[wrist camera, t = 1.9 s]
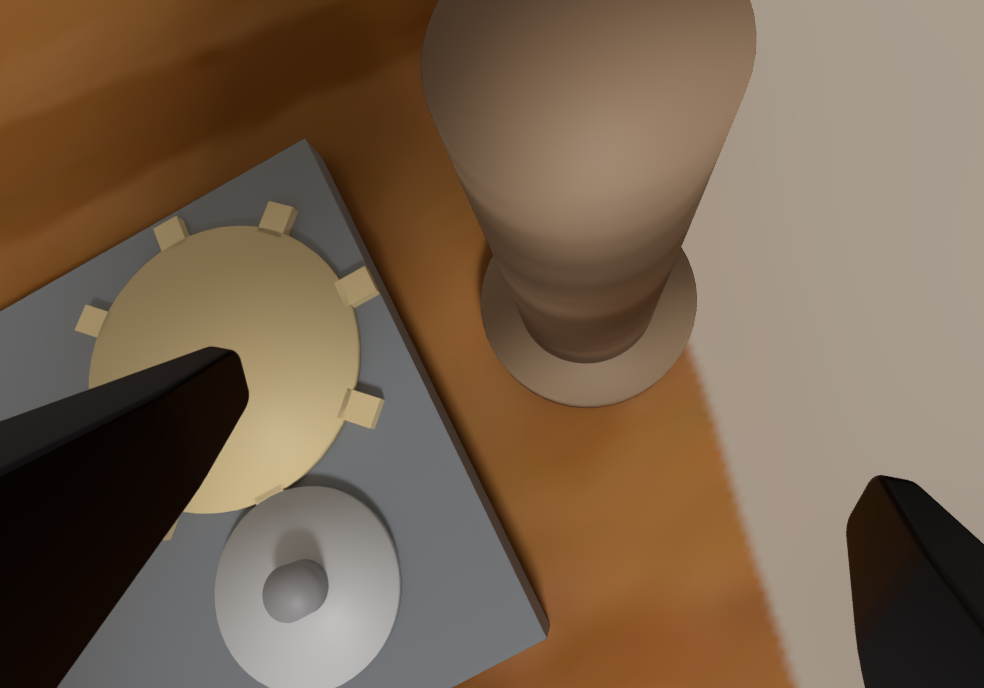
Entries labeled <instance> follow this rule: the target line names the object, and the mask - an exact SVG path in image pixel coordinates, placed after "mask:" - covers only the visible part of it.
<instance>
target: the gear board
mask: <svg viewBox="0 0 984 688" xmlns="http://www.w3.org/2000/svg"><path fill="white" fill-rule="evenodd" d="M209 346H215V347H221V348H226V349H231V350H234V351H235V352H237V354H238V355H239V356H240V359H241V362H242V366H243V370H244V373H245V377H246V381H247V385H248V389H249V401H248V404H247V407H246V409H245V410H244V412H243V414H242V416H241V417H240V419H239V421H238V423H237V424H236V426H235V428H234V430H233V431H232V433H231V435H230V437H229V438H228V440H227V442H226V444H225V445H224V447H223V449H222V451H221V452H220V454H219V456H218V458H217V459H216V461H215V463H214V465H213V466H212V468H211V470H210V472H209V473H208V475H207V477H206V478H205V480H204V481H203V483H202V485H201V486H200V488H199V489H198V491H197V492H196V494H195V495H194V497H193V498H192V500H191V501H190V503H189V504H188V505H187V507H186V508H185V510H184V511H183V512H182V514H181V515H180V517H179V518H178V519H177V521H176V522H175V524H174V525H173V526H172V528H171V529H170V531H169V532H168V533H167V535H166V536H165V538H164V539H163V540H162V542H161V543H160V545H159V546H158V547H157V549H156V550H155V552H154V553H153V554H152V556H151V557H150V559H149V560H148V561H147V563H146V564H145V566H144V567H143V568H142V570H141V571H140V573H139V574H138V575H137V577H136V578H135V580H134V581H133V582H132V584H131V585H130V587H129V588H128V589H127V591H126V592H125V594H124V595H123V596H122V598H121V599H120V601H119V602H118V603H117V605H116V606H115V608H114V609H113V610H112V612H111V613H110V615H109V616H108V617H107V619H106V620H105V622H104V623H103V624H102V626H101V627H100V628H99V630H98V631H97V633H96V634H95V635H94V637H93V638H92V640H91V641H90V642H89V644H88V645H87V647H86V648H85V649H84V651H83V652H82V654H81V655H80V656H79V658H78V659H77V661H76V662H75V663H74V665H73V666H72V668H71V669H70V670H69V672H68V673H67V675H66V676H65V677H64V679H63V680H62V682H61V683H60V684H59V686H58V687H57V688H452V687H454V686H456V685H458V684H460V683H462V682H464V681H465V680H467V679H469V678H471V677H473V676H475V675H477V674H479V673H481V672H483V671H485V670H487V669H489V668H491V667H493V666H495V665H496V664H498V663H500V662H502V661H504V660H506V659H508V658H510V657H512V656H514V655H516V654H518V653H520V652H522V651H524V650H526V649H527V648H529V647H531V646H533V645H535V644H537V643H539V642H541V641H543V640H545V639H547V636H548V632H549V628H550V624H549V622H548V620H547V618H546V616H545V614H544V612H543V609H542V607H541V605H540V603H539V601H538V599H537V597H536V595H535V593H534V591H533V589H532V587H531V585H530V583H529V581H528V579H527V577H526V575H525V573H524V570H523V568H522V566H521V564H520V562H519V560H518V558H517V556H516V554H515V552H514V550H513V548H512V546H511V544H510V542H509V540H508V538H507V536H506V534H505V531H504V529H503V527H502V525H501V523H500V521H499V519H498V517H497V515H496V513H495V511H494V509H493V507H492V505H491V503H490V501H489V499H488V497H487V495H486V492H485V490H484V488H483V486H482V484H481V482H480V480H479V478H478V476H477V474H476V472H475V470H474V468H473V466H472V464H471V462H470V460H469V458H468V456H467V453H466V451H465V449H464V447H463V445H462V443H461V441H460V439H459V437H458V435H457V433H456V431H455V429H454V427H453V425H452V423H451V421H450V419H449V417H448V414H447V412H446V410H445V408H444V406H443V404H442V402H441V400H440V398H439V396H438V394H437V392H436V390H435V388H434V386H433V384H432V382H431V380H430V378H429V375H428V373H427V371H426V369H425V367H424V365H423V363H422V361H421V359H420V357H419V355H418V353H417V351H416V349H415V347H414V345H413V343H412V341H411V339H410V336H409V334H408V332H407V330H406V328H405V326H404V324H403V322H402V320H401V318H400V316H399V314H398V312H397V310H396V308H395V306H394V304H393V302H392V300H391V297H390V295H389V293H388V291H387V289H386V287H385V285H384V283H383V281H382V279H381V277H380V275H379V273H378V271H377V269H376V267H375V265H374V263H373V261H372V258H371V256H370V254H369V252H368V250H367V248H366V246H365V244H364V242H363V240H362V238H361V236H360V234H359V232H358V230H357V228H356V226H355V224H354V222H353V219H352V217H351V215H350V213H349V211H348V209H347V207H346V205H345V203H344V201H343V199H342V197H341V195H340V193H339V191H338V189H337V187H336V185H335V183H334V180H333V178H332V176H331V174H330V172H329V170H328V168H327V166H326V164H325V162H324V160H323V158H322V157H321V156H320V155H319V154H318V152H317V151H316V150H315V149H314V148H313V147H312V145H311V144H310V143H309V142H308V141H307V140H306V138H304V139H303V140H301V141H299V142H297V143H296V144H294V145H292V146H290V147H288V148H287V149H285V150H283V151H281V152H280V153H278V154H276V155H274V156H273V157H271V158H269V159H267V160H266V161H264V162H262V163H260V164H259V165H257V166H255V167H253V168H252V169H250V170H248V171H246V172H245V173H243V174H241V175H239V176H238V177H236V178H234V179H232V180H231V181H229V182H227V183H225V184H223V185H222V186H220V187H218V188H216V189H215V190H213V191H211V192H209V193H208V194H206V195H204V196H202V197H201V198H199V199H197V200H195V201H194V202H192V203H190V204H188V205H187V206H185V207H183V208H181V209H180V210H178V211H176V212H174V213H173V214H171V215H169V216H167V217H165V218H164V219H162V220H160V221H158V222H157V223H155V224H153V225H151V226H150V227H148V228H146V229H144V230H143V231H141V232H139V233H137V234H136V235H134V236H132V237H130V238H129V239H127V240H125V241H123V242H122V243H120V244H118V245H116V246H115V247H113V248H111V249H109V250H107V251H106V252H104V253H102V254H100V255H99V256H97V257H95V258H93V259H92V260H90V261H88V262H86V263H85V264H83V265H81V266H79V267H78V268H76V269H74V270H72V271H71V272H69V273H67V274H65V275H64V276H62V277H60V278H58V279H57V280H55V281H53V282H51V283H49V284H48V285H46V286H44V287H42V288H41V289H39V290H37V291H35V292H34V293H32V294H30V295H28V296H27V297H25V298H23V299H21V300H20V301H18V302H16V303H14V304H13V305H11V306H9V307H7V308H6V309H4V310H2V311H0V421H2V420H5V419H8V418H10V417H13V416H16V415H19V414H22V413H24V412H27V411H30V410H33V409H35V408H38V407H41V406H44V405H47V404H49V403H52V402H55V401H58V400H61V399H63V398H66V397H69V396H72V395H74V394H77V393H80V392H83V391H86V390H88V389H91V388H94V387H97V386H100V385H102V384H105V383H108V382H111V381H113V380H116V379H119V378H122V377H125V376H127V375H130V374H133V373H136V372H139V371H141V370H144V369H147V368H150V367H152V366H155V365H158V364H161V363H164V362H166V361H169V360H172V359H175V358H178V357H180V356H183V355H186V354H189V353H191V352H194V351H197V350H200V349H203V348H205V347H209Z"/></svg>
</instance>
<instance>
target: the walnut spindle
mask: <svg viewBox="0 0 984 688" xmlns="http://www.w3.org/2000/svg"><path fill="white" fill-rule="evenodd" d="M755 54H756V26H755V19H754V12H753V9H752V6H751V2H750V0H439V1H438V3H437V4H436V7H435V9H434V11H433V13H432V16H431V18H430V20H429V23H428V27H427V30H426V33H425V37H424V42H423V48H422V54H421V78H422V86H423V93H424V96H425V100H426V103H427V106H428V110H429V112H430V114H431V117H432V119H433V121H434V123H435V126H436V128H437V130H438V132H439V135H440V137H441V139H442V141H443V144H444V146H445V148H446V150H447V152H448V155H449V157H450V159H451V161H452V164H453V166H454V168H455V170H456V173H457V175H458V177H459V179H460V182H461V184H462V186H463V188H464V191H465V193H466V195H467V197H468V200H469V202H470V204H471V206H472V209H473V211H474V213H475V215H476V218H477V220H478V222H479V224H480V226H481V229H482V231H483V233H484V235H485V238H486V240H487V242H488V244H489V247H490V249H491V251H492V253H493V256H492V258H491V260H490V263H489V265H488V268H487V270H486V273H485V277H484V281H483V284H482V292H481V314H482V320H483V325H484V329H485V332H486V336H487V338H488V340H489V343H490V345H491V347H492V349H493V351H494V352H495V354H496V356H497V357H498V359H499V360H500V362H501V363H502V364H503V365H504V366H505V368H506V369H507V370H508V371H509V373H510V374H511V375H512V376H513V377H514V378H515V379H516V380H517V381H518V382H519V383H520V384H521V385H523V386H524V387H526V388H527V389H528V390H530V391H531V392H533V393H534V394H536V395H538V396H540V397H542V398H544V399H546V400H549V401H552V402H554V403H557V404H561V405H566V406H570V407H580V408H598V407H604V406H610V405H614V404H618V403H621V402H624V401H627V400H629V399H631V398H633V397H636V396H638V395H639V394H641V393H643V392H644V391H646V390H647V389H649V388H650V387H652V386H653V385H654V384H655V383H656V382H658V381H659V380H660V379H661V378H662V377H663V376H664V375H665V374H666V373H667V371H668V370H669V369H670V368H671V367H672V365H673V364H674V363H675V362H676V360H677V359H678V357H679V356H680V354H681V353H682V352H683V350H684V348H685V346H686V344H687V342H688V340H689V337H690V335H691V332H692V329H693V326H694V321H695V315H696V307H697V293H696V283H695V279H694V275H693V271H692V268H691V266H690V263H689V261H688V258H687V256H686V255H685V253H684V251H683V249H682V248H681V246H682V244H683V241H684V239H685V236H686V234H687V231H688V229H689V227H690V224H691V222H692V219H693V217H694V215H695V212H696V210H697V207H698V205H699V203H700V200H701V198H702V195H703V193H704V190H705V188H706V186H707V183H708V181H709V178H710V176H711V174H712V171H713V169H714V166H715V164H716V161H717V159H718V157H719V154H720V152H721V149H722V147H723V144H724V142H725V140H726V137H727V135H728V133H729V130H730V128H731V125H732V123H733V121H734V118H735V116H736V113H737V111H738V108H739V106H740V104H741V101H742V99H743V96H744V94H745V91H746V88H747V86H748V83H749V80H750V77H751V74H752V70H753V65H754V60H755Z"/></svg>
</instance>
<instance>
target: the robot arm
mask: <svg viewBox="0 0 984 688" xmlns="http://www.w3.org/2000/svg"><path fill="white" fill-rule="evenodd" d="M248 401H249V389H248V385H247V381H246V377H245V373H244V370H243V366H242V362H241V359H240V356H239V355H238V354H237V352H235V351H234V350H231V349H226V348H221V347H215V346H209V347H205V348H203V349H200V350H197V351H194V352H191V353H189V354H186V355H183V356H180V357H178V358H175V359H172V360H169V361H166V362H164V363H161V364H158V365H155V366H152V367H150V368H147V369H144V370H141V371H139V372H136V373H133V374H130V375H127V376H125V377H122V378H119V379H116V380H113V381H111V382H108V383H105V384H102V385H100V386H97V387H94V388H91V389H88V390H86V391H83V392H80V393H77V394H74V395H72V396H69V397H66V398H63V399H61V400H58V401H55V402H52V403H49V404H47V405H44V406H41V407H38V408H35V409H33V410H30V411H27V412H24V413H22V414H19V415H16V416H13V417H10V418H8V419H5V420H2V421H0V688H57V687H58V686H59V684H60V683H61V682H62V680H63V679H64V677H65V676H66V675H67V673H68V672H69V670H70V669H71V668H72V666H73V665H74V663H75V662H76V661H77V659H78V658H79V656H80V655H81V654H82V652H83V651H84V649H85V648H86V647H87V645H88V644H89V642H90V641H91V640H92V638H93V637H94V635H95V634H96V633H97V631H98V630H99V628H100V627H101V626H102V624H103V623H104V622H105V620H106V619H107V617H108V616H109V615H110V613H111V612H112V610H113V609H114V608H115V606H116V605H117V603H118V602H119V601H120V599H121V598H122V596H123V595H124V594H125V592H126V591H127V589H128V588H129V587H130V585H131V584H132V582H133V581H134V580H135V578H136V577H137V575H138V574H139V573H140V571H141V570H142V568H143V567H144V566H145V564H146V563H147V561H148V560H149V559H150V557H151V556H152V554H153V553H154V552H155V550H156V549H157V547H158V546H159V545H160V543H161V542H162V540H163V539H164V538H165V536H166V535H167V533H168V532H169V531H170V529H171V528H172V526H173V525H174V524H175V522H176V521H177V519H178V518H179V517H180V515H181V514H182V512H183V511H184V510H185V508H186V507H187V505H188V504H189V503H190V501H191V500H192V498H193V497H194V495H195V494H196V492H197V491H198V489H199V488H200V486H201V485H202V483H203V481H204V480H205V478H206V477H207V475H208V473H209V472H210V470H211V468H212V466H213V465H214V463H215V461H216V459H217V458H218V456H219V454H220V452H221V451H222V449H223V447H224V445H225V444H226V442H227V440H228V438H229V437H230V435H231V433H232V431H233V430H234V428H235V426H236V424H237V423H238V421H239V419H240V417H241V416H242V414H243V412H244V410H245V409H246V407H247V404H248ZM846 537H847V548H848V558H849V569H850V580H851V590H852V601H853V611H854V623H855V633H856V641H857V649H858V655H859V660H860V665H861V671H862V676H863V680H864V685H865V688H984V544H983V543H982V542H981V541H980V540H979V539H977V538H976V537H975V536H974V535H973V534H972V533H971V532H970V531H969V530H968V529H966V528H965V527H964V526H963V525H962V524H961V523H960V522H959V521H958V520H956V519H955V518H954V517H953V516H952V515H951V514H950V513H949V512H948V511H947V510H945V509H944V508H943V507H942V506H941V505H940V504H939V503H938V502H936V501H935V500H934V499H933V498H932V497H931V496H930V495H928V493H927V492H925V491H924V490H923V489H922V488H921V487H920V486H919V485H917V484H916V483H914V482H912V481H909V480H905V479H900V478H895V477H889V476H884V475H879V476H875V477H874V478H872V479H871V481H870V482H869V483H868V485H867V486H866V489H865V490H864V492H863V494H862V495H861V497H860V499H859V501H858V502H857V504H856V506H855V508H854V509H853V511H852V513H851V515H850V517H849V519H848V523H847V531H846Z"/></svg>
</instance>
